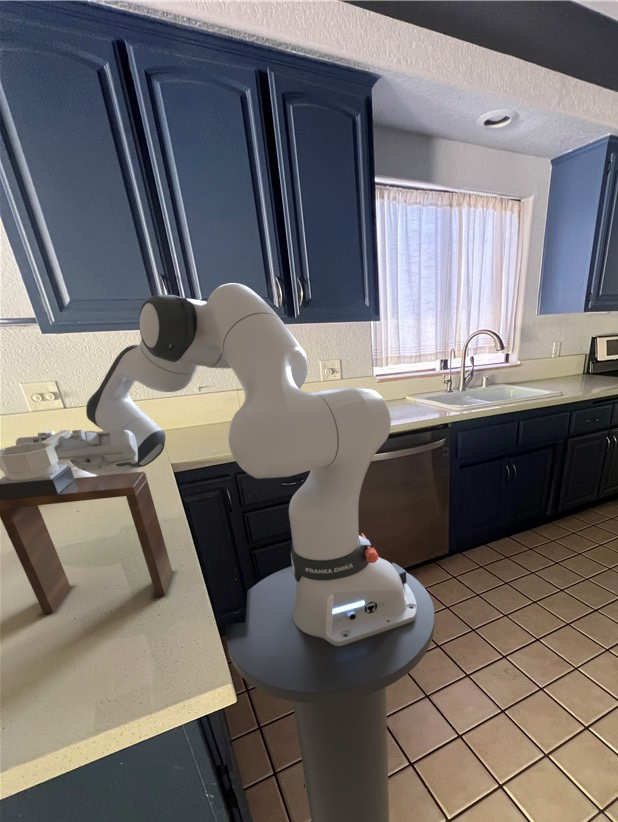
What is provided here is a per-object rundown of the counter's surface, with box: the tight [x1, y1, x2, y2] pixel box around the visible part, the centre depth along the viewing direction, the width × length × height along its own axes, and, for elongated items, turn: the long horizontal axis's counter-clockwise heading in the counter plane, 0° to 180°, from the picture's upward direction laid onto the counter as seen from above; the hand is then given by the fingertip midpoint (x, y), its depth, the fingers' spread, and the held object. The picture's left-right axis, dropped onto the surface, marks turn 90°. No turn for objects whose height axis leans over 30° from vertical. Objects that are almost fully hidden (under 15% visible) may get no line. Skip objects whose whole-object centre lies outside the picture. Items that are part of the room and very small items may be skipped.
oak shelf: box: [0, 471, 174, 615], centre depth 77 cm, size 20×8×22 cm, turn 104°
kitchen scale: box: [0, 464, 75, 500], centre depth 70 cm, size 8×7×3 cm
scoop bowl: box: [0, 429, 72, 480], centre depth 74 cm, size 7×19×4 cm, turn 15°
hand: (59, 435), depth 79 cm, fingers open, 4 cm apart
